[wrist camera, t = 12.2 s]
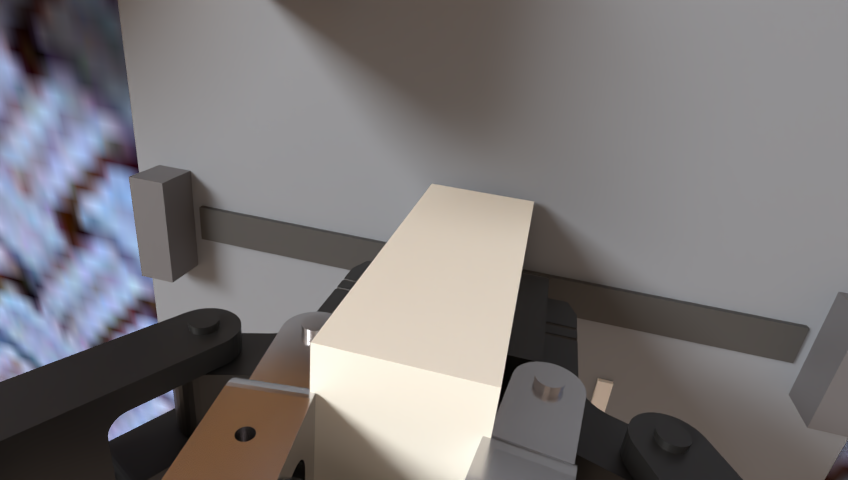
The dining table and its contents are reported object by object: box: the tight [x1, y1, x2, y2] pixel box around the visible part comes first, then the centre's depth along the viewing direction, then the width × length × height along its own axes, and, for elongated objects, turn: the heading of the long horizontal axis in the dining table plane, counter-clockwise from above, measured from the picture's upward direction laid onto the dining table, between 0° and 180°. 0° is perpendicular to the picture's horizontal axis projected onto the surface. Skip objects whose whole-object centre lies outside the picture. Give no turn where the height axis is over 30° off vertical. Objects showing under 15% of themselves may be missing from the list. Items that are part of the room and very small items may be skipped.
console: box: [118, 0, 848, 480], centre depth 13 cm, size 20×20×3 cm
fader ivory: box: [310, 184, 534, 480], centre depth 11 cm, size 2×5×7 cm, turn 173°
